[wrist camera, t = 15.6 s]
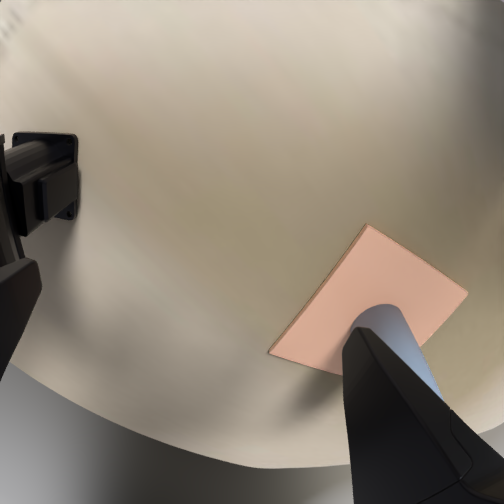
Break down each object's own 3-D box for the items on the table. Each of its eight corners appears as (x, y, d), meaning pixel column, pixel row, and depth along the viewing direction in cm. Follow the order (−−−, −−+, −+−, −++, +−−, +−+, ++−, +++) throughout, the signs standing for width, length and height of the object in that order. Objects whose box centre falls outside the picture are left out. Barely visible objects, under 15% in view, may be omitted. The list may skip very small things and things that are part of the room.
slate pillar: (350, 350, 26) (382, 478, 15) (349, 311, 24) (394, 456, 12) (399, 338, 25) (446, 457, 14) (405, 298, 23) (469, 428, 12)
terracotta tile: (269, 349, 26) (269, 353, 26) (366, 223, 20) (368, 226, 20) (377, 381, 30) (378, 385, 29) (466, 290, 23) (468, 293, 23)
